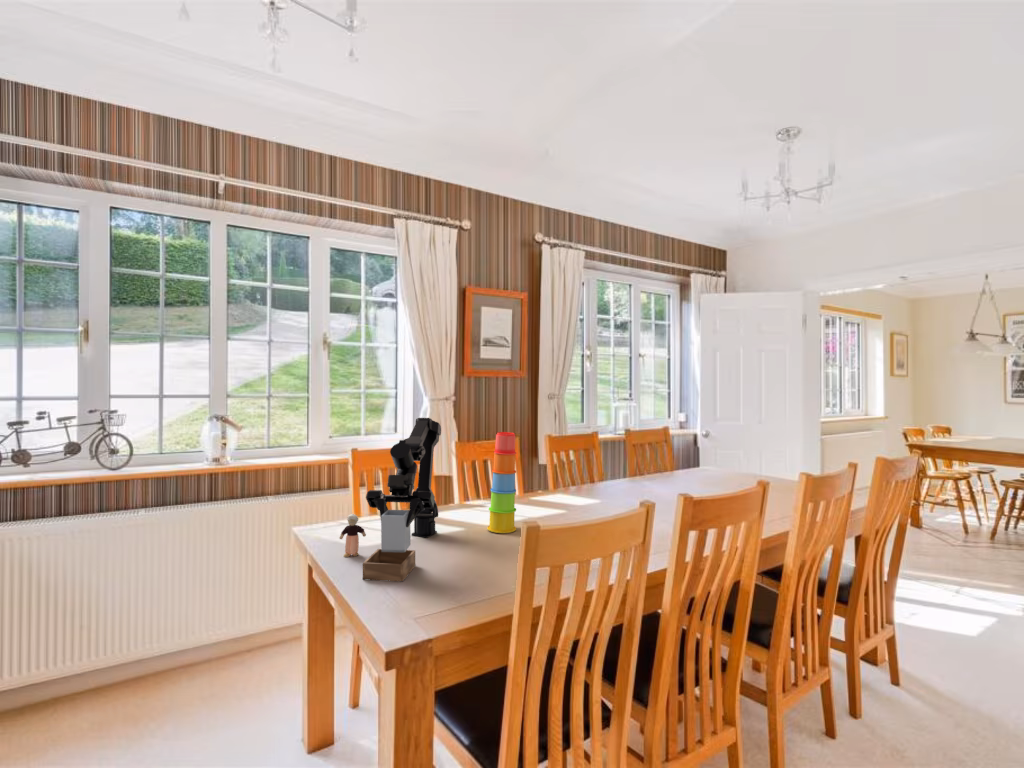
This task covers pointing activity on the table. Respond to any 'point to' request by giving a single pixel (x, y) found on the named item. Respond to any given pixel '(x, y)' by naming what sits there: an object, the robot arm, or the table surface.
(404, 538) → the grey upright prism
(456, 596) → the table surface
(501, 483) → the stacking cups
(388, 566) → the crate large
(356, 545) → the grandmother figurine
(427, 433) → the robot arm
